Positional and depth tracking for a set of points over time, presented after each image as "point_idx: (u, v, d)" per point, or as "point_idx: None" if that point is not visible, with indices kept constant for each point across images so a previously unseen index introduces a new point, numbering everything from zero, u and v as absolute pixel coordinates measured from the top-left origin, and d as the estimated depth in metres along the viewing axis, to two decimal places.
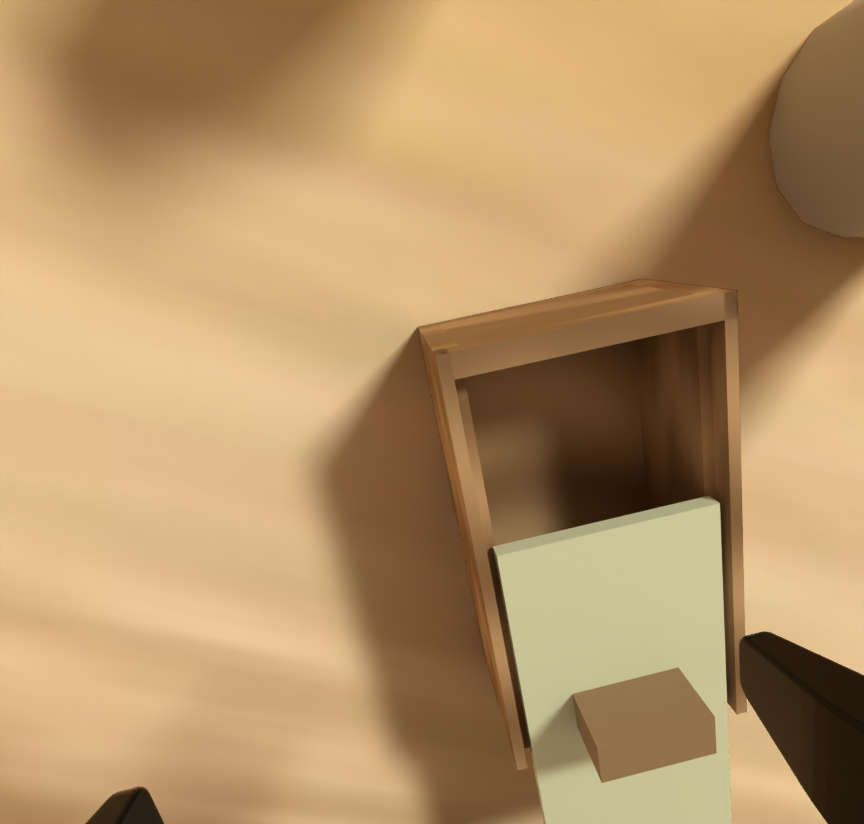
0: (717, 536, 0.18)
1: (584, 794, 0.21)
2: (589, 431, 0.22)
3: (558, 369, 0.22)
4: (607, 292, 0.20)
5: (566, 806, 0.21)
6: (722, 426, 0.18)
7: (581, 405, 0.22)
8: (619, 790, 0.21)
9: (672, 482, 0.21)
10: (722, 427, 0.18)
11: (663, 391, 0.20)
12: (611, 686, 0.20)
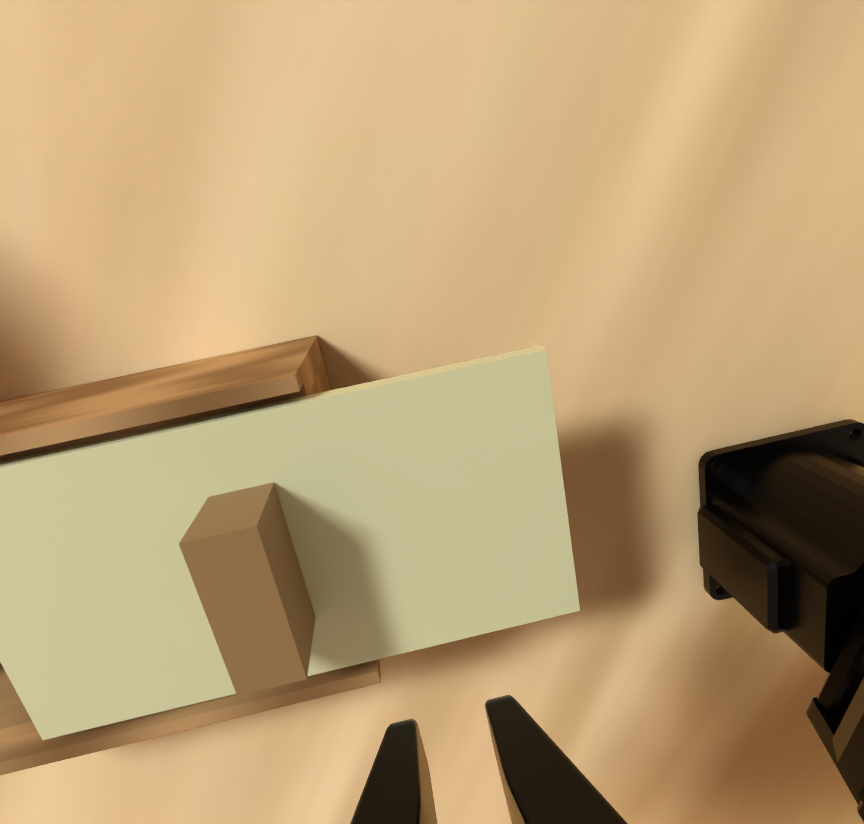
0: None
1: (440, 591, 0.15)
2: None
3: None
4: None
5: (459, 612, 0.15)
6: None
7: None
8: (441, 544, 0.14)
9: None
10: None
11: None
12: None
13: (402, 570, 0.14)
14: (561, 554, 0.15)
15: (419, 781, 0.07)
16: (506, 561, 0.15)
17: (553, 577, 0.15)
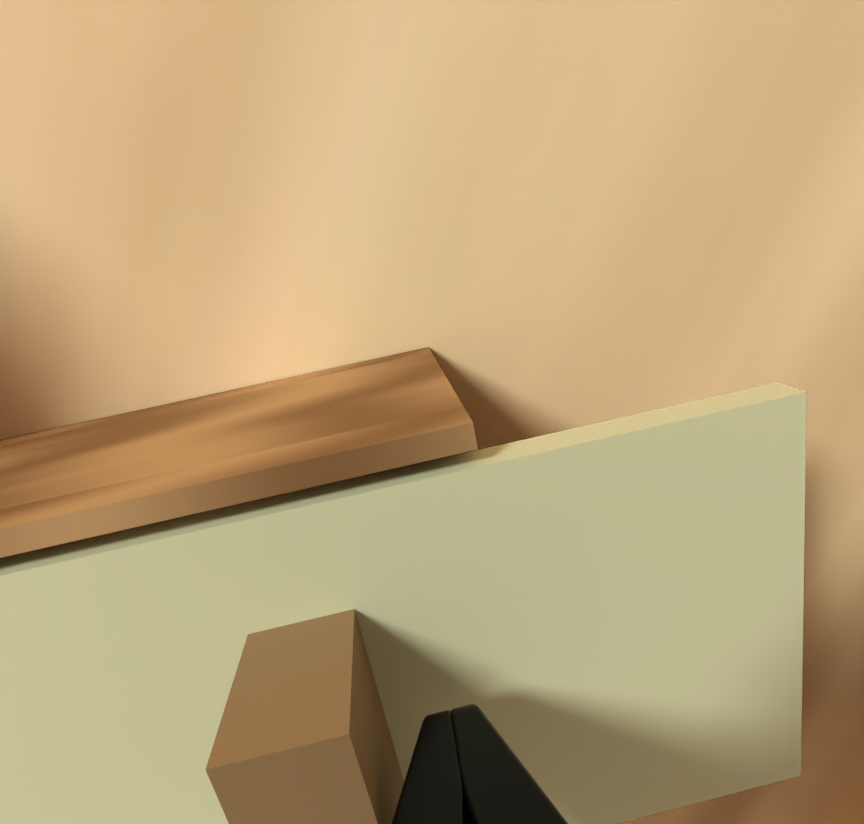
0: None
1: (600, 757, 0.10)
2: None
3: None
4: None
5: (624, 784, 0.10)
6: None
7: None
8: (608, 692, 0.09)
9: None
10: None
11: None
12: None
13: (546, 732, 0.09)
14: (785, 699, 0.10)
15: (461, 771, 0.07)
16: (704, 712, 0.10)
17: (769, 732, 0.10)
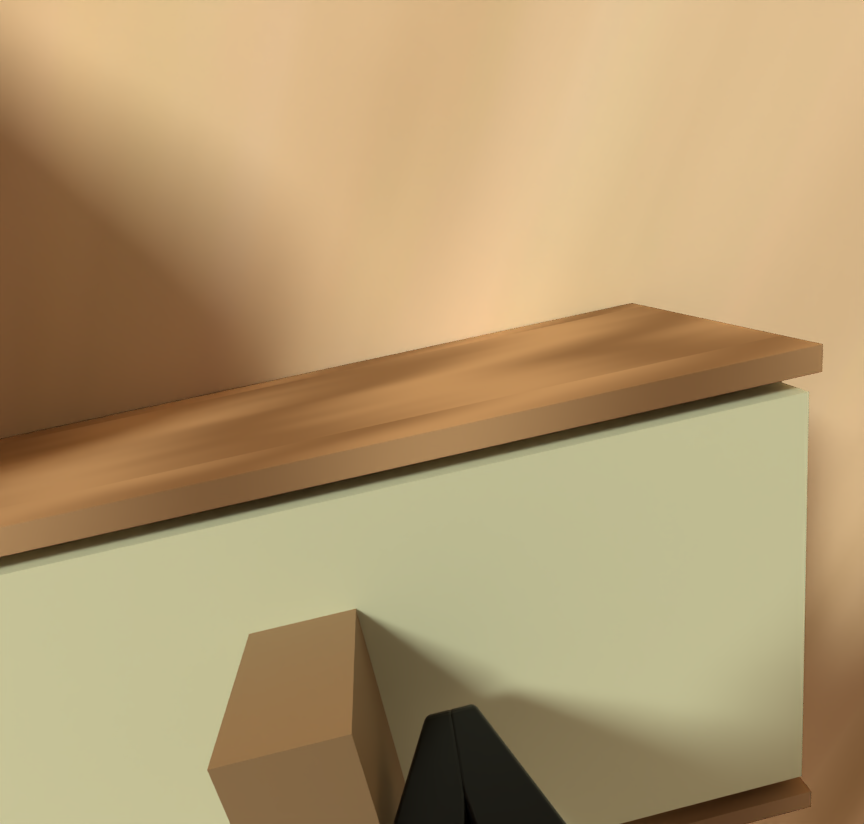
0: None
1: (601, 757, 0.10)
2: None
3: None
4: None
5: (626, 785, 0.10)
6: None
7: None
8: (609, 692, 0.09)
9: None
10: None
11: None
12: None
13: (547, 731, 0.09)
14: (787, 700, 0.10)
15: (462, 770, 0.07)
16: (705, 712, 0.10)
17: (770, 732, 0.10)
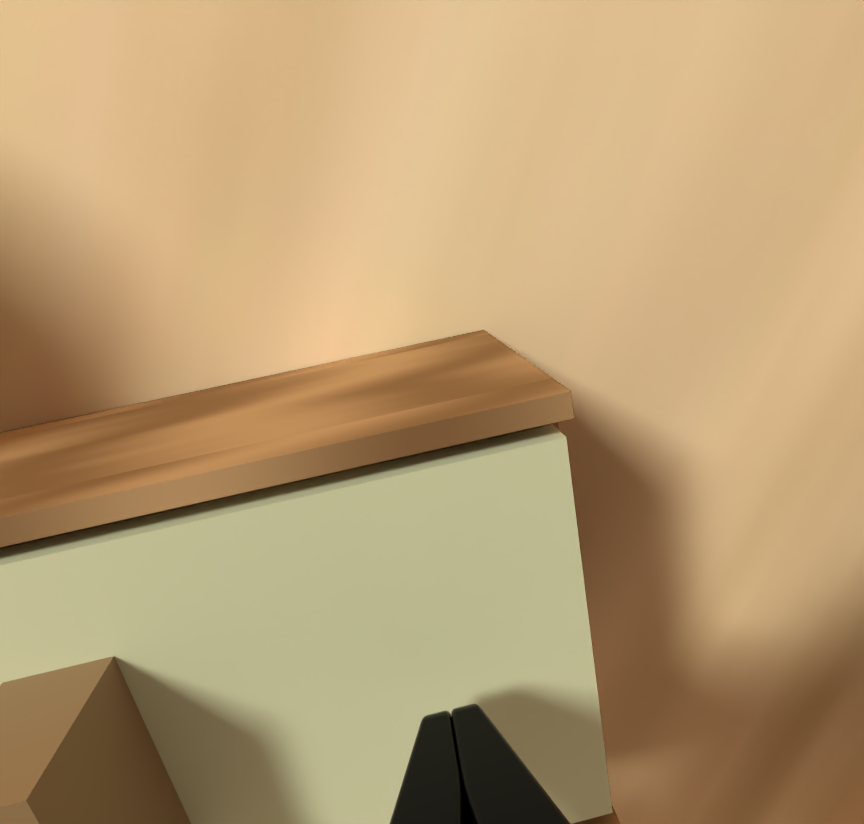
0: None
1: None
2: None
3: None
4: None
5: None
6: None
7: None
8: (397, 734, 0.09)
9: None
10: None
11: None
12: None
13: (337, 774, 0.09)
14: (586, 739, 0.10)
15: (459, 771, 0.07)
16: None
17: (573, 770, 0.10)
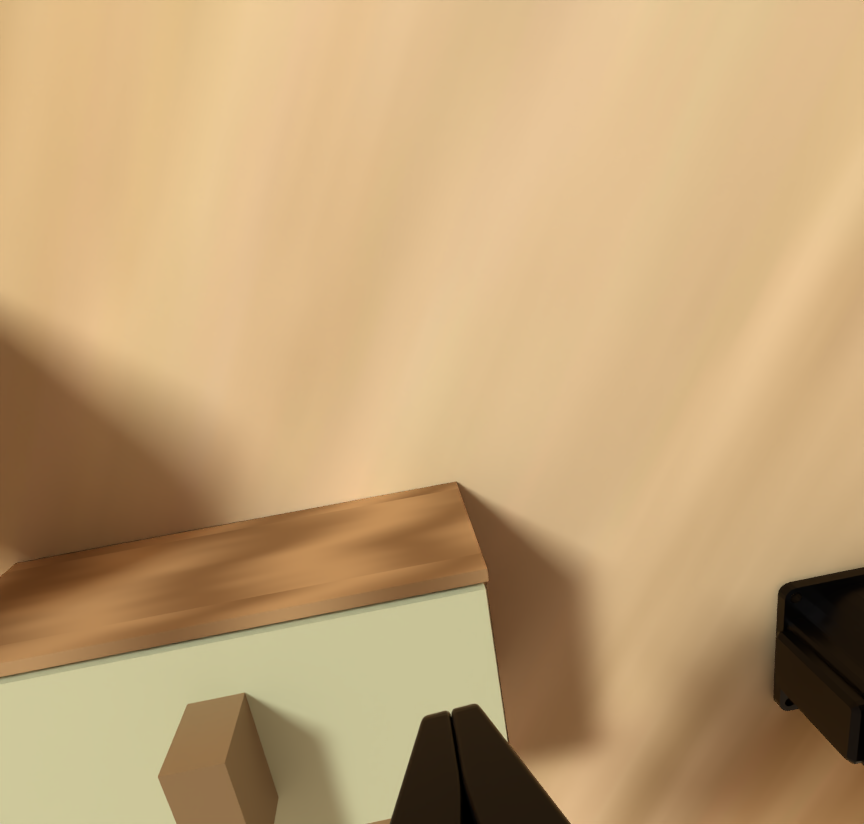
0: None
1: (390, 776, 0.17)
2: None
3: None
4: None
5: None
6: (57, 658, 0.15)
7: None
8: (391, 739, 0.16)
9: None
10: None
11: None
12: None
13: (356, 760, 0.16)
14: None
15: (459, 771, 0.07)
16: None
17: None
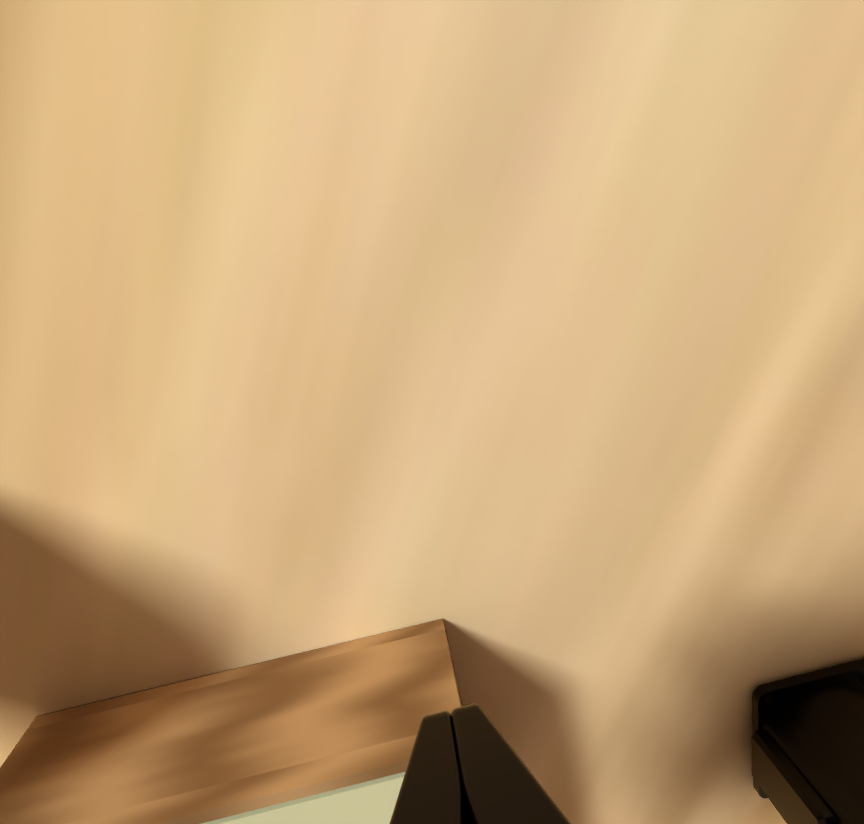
0: None
1: None
2: None
3: None
4: None
5: None
6: None
7: None
8: None
9: None
10: None
11: None
12: None
13: None
14: None
15: (459, 771, 0.07)
16: None
17: None
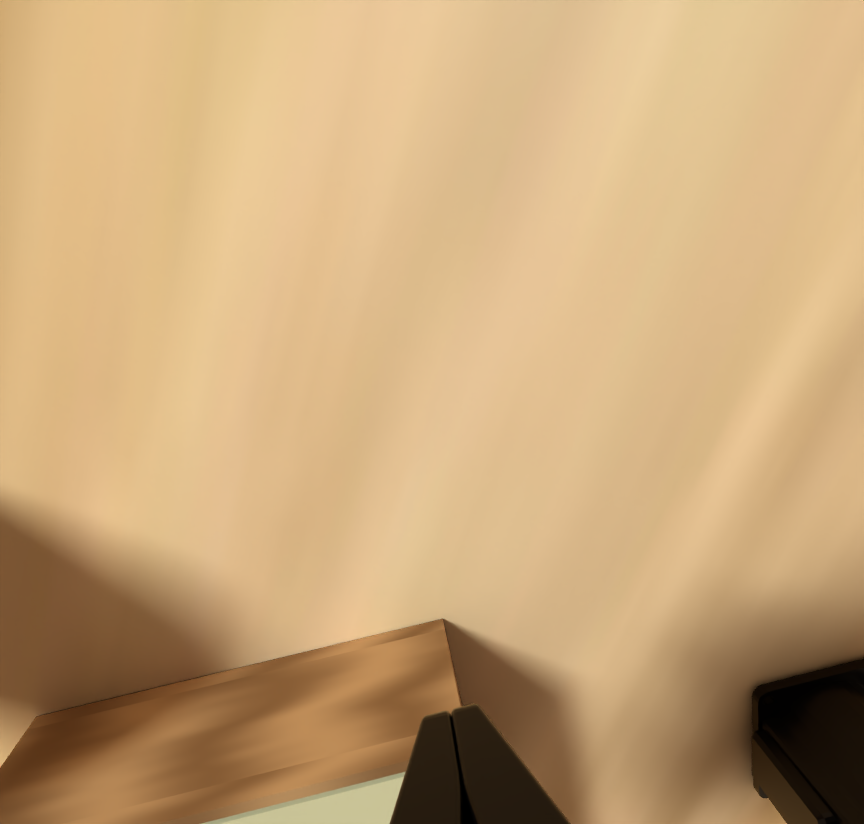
0: None
1: None
2: None
3: None
4: None
5: None
6: None
7: None
8: None
9: None
10: None
11: None
12: None
13: None
14: None
15: (459, 771, 0.07)
16: None
17: None
